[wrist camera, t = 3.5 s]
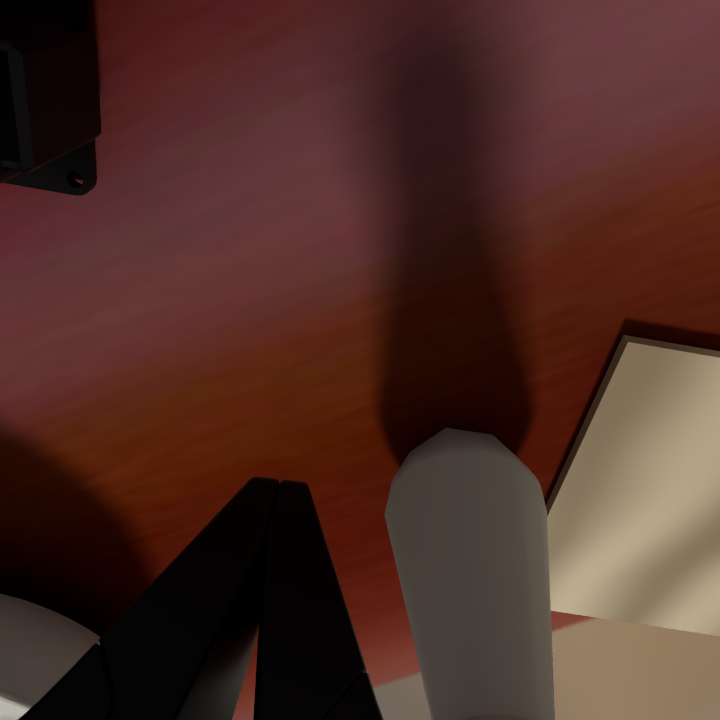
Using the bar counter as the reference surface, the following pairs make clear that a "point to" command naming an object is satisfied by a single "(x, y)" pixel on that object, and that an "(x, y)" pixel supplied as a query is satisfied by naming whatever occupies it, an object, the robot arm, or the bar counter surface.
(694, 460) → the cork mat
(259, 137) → the bar counter surface
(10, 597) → the serving bowl
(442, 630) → the salt shaker
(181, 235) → the bar counter surface
